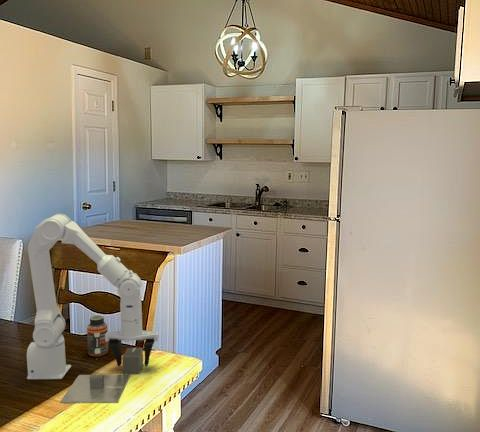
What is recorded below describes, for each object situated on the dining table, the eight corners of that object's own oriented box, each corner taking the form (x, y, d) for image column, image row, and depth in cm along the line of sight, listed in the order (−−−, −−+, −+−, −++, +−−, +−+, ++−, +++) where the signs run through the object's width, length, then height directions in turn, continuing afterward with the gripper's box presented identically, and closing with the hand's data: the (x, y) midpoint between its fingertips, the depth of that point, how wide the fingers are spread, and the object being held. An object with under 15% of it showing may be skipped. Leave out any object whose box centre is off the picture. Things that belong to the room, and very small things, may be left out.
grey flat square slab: (60, 402, 120) (59, 389, 120) (79, 376, 134) (78, 364, 134) (117, 402, 120) (116, 389, 120) (130, 376, 134) (129, 364, 134)
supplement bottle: (102, 358, 145) (100, 321, 144) (84, 356, 147) (82, 320, 145) (111, 350, 151) (110, 314, 150) (94, 348, 152) (92, 313, 151)
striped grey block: (139, 374, 135) (138, 356, 134) (123, 374, 135) (122, 356, 134) (143, 364, 141) (142, 347, 140) (128, 364, 141) (127, 347, 140)
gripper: (159, 313, 140) (161, 358, 142) (109, 313, 140) (111, 358, 142) (155, 321, 133) (157, 369, 135) (102, 322, 133) (104, 369, 135)
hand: (133, 364), depth 138 cm, fingers open, 7 cm apart
